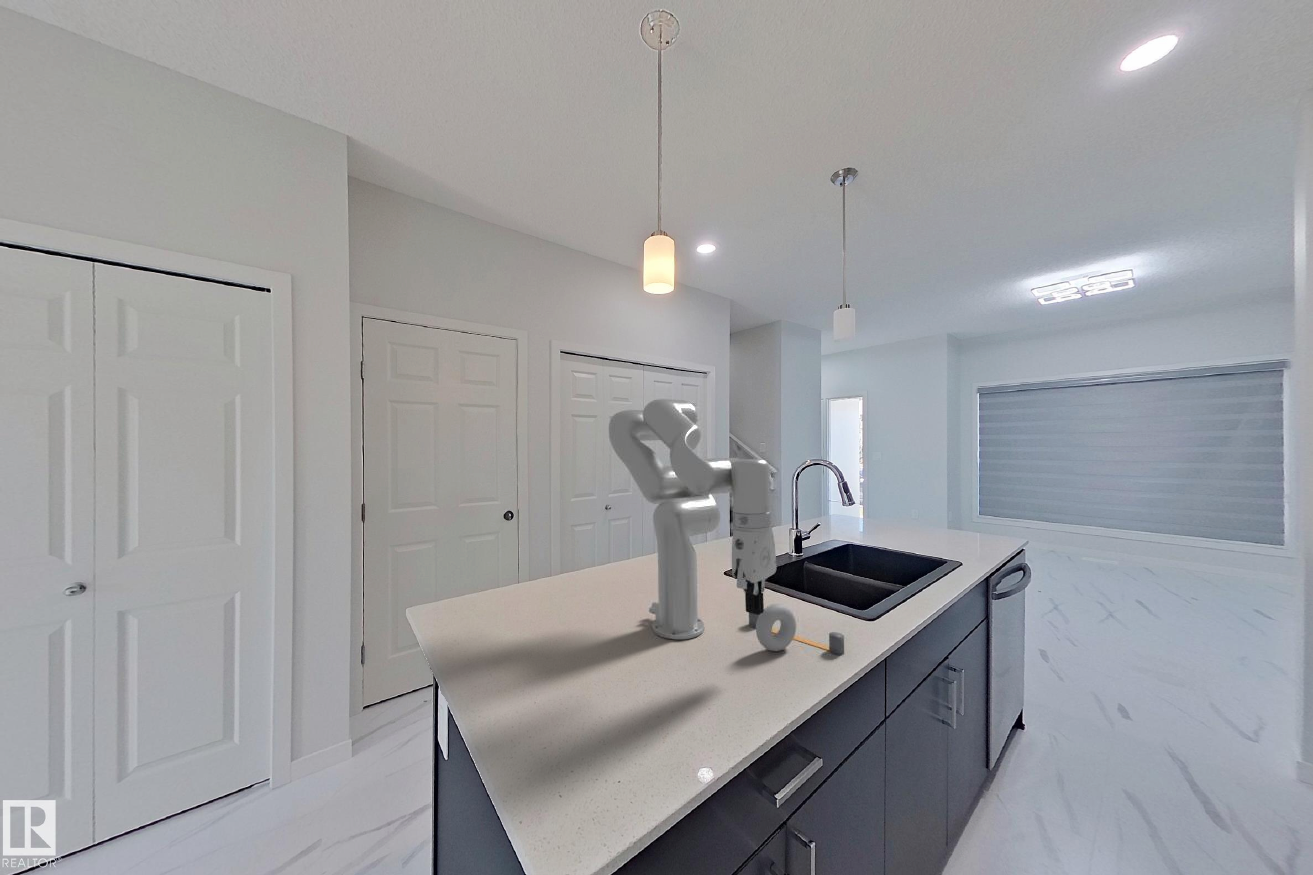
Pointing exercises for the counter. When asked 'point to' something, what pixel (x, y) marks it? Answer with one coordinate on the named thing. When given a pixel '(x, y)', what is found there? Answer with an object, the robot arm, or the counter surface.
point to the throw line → (834, 641)
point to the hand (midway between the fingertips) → (754, 612)
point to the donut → (785, 632)
